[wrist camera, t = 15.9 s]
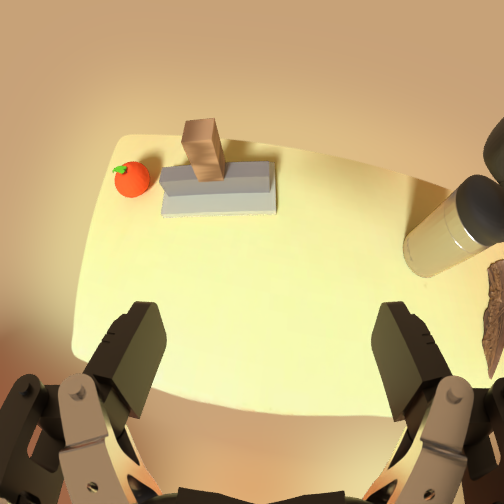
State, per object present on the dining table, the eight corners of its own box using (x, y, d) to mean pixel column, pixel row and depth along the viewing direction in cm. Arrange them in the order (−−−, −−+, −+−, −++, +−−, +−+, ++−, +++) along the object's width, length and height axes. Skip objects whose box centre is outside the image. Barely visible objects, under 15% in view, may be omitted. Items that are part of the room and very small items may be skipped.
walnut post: (225, 160, 43) (214, 118, 33) (223, 180, 41) (211, 139, 32) (201, 162, 43) (185, 121, 33) (198, 182, 42) (181, 142, 32)
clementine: (115, 198, 50) (98, 181, 43) (130, 170, 52) (116, 151, 45) (145, 207, 49) (129, 188, 42) (160, 177, 51) (147, 156, 44)
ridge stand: (274, 166, 49) (274, 144, 43) (275, 214, 46) (276, 196, 40) (171, 171, 51) (160, 152, 44) (163, 217, 48) (150, 201, 41)
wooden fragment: (487, 252, 41) (489, 250, 40) (514, 266, 40) (516, 265, 39) (470, 375, 34) (473, 376, 33) (499, 379, 33) (502, 380, 32)
